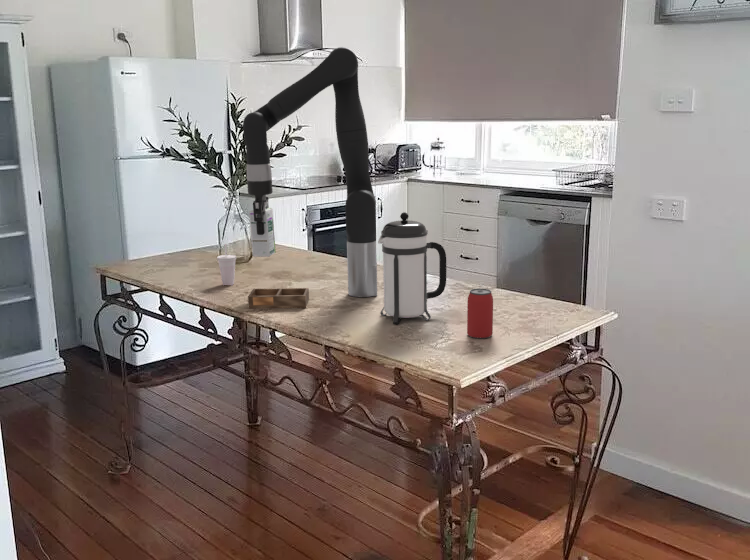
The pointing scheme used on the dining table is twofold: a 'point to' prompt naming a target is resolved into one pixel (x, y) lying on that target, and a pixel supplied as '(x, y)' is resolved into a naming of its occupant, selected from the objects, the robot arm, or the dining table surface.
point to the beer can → (480, 313)
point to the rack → (278, 298)
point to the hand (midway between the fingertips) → (262, 232)
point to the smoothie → (227, 267)
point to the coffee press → (408, 269)
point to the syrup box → (265, 242)
